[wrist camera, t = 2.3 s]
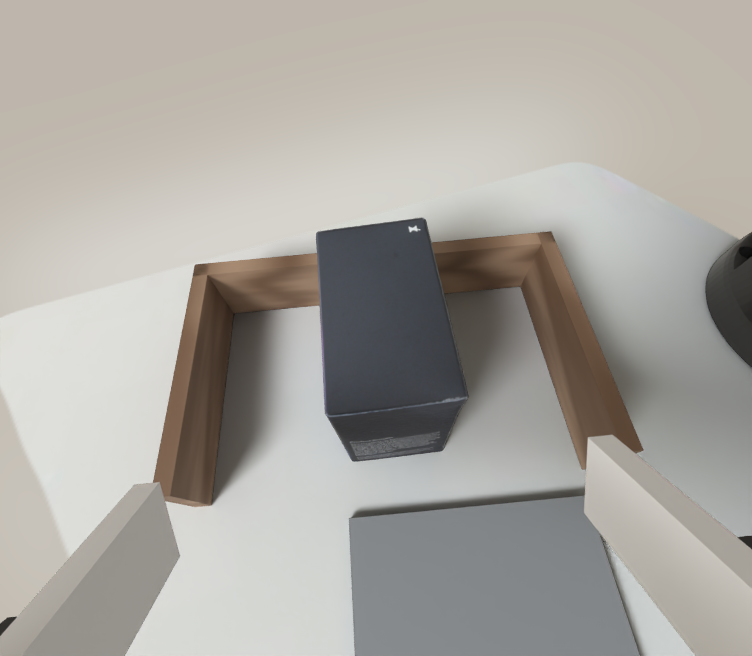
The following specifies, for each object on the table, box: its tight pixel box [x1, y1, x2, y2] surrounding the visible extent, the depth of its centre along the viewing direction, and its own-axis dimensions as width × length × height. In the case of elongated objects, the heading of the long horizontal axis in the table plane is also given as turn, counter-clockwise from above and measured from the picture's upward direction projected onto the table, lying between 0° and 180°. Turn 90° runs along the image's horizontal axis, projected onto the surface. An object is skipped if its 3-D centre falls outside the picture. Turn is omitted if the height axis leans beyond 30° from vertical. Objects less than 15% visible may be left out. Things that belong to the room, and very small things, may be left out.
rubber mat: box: [349, 496, 640, 656], centre depth 20 cm, size 14×12×1 cm
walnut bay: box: [153, 232, 643, 507], centre depth 25 cm, size 25×15×5 cm, turn 95°
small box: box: [316, 218, 468, 462], centre depth 23 cm, size 11×6×10 cm, turn 7°
